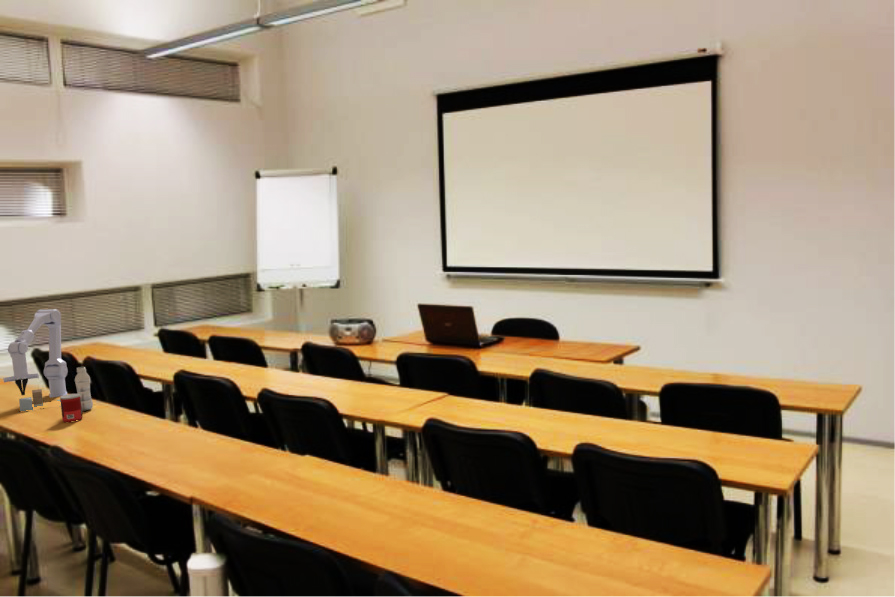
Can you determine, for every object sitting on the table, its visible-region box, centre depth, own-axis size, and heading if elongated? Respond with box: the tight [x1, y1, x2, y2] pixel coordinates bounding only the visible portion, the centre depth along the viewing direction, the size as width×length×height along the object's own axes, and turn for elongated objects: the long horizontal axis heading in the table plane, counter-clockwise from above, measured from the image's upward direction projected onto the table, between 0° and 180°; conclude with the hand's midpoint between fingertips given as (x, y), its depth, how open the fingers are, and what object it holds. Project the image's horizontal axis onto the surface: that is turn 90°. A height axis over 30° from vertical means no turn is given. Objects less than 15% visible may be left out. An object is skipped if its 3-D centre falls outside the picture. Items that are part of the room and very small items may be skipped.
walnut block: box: [31, 388, 44, 407], centre depth 364 cm, size 6×4×7 cm, turn 29°
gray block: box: [18, 396, 34, 412], centre depth 356 cm, size 5×5×5 cm
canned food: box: [59, 393, 83, 423], centre depth 333 cm, size 8×8×11 cm
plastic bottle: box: [74, 366, 94, 412], centre depth 349 cm, size 6×7×20 cm
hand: (23, 394), depth 361 cm, fingers closed
